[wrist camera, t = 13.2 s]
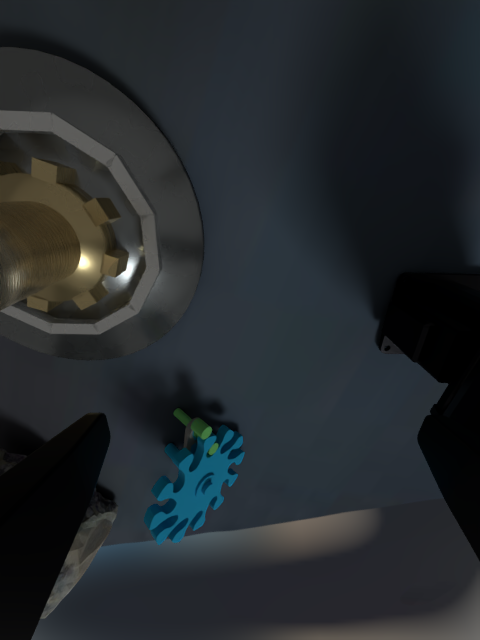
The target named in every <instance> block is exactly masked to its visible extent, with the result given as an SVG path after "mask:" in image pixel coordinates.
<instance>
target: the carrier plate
mask: <svg viewBox="0 0 480 640" xmlns="http://www.w3.org/2000/svg"><path fill="white" fill-rule="evenodd" d="M32 157H34V158H39V159H45V160H50V161H55V162H57V163H60V164H63V165H65V166H68V167H71V168H73V169H76V175H75V185H76V186H78V187H80V188H81V189H82V190H84V191H85V192H86V193H88V194H89V195H90V196H91V197H92V198H93V199H94V198H110V199H111V201H112V203H113V204H114V206H115V207H116V209H117V211H118V212H119V214H120V215H121V218H119V219H117V220H116V221H114V222H112V223H111V225H112V228H113V231H114V234H115V238H116V247H117V249H119V250H122V251H125V252H128V253H129V258H128V263H127V268H126V271H124V272H123V273H121V274H120V275H119V276H117V277H116V278H114V277H111V276H108V277H107V278H106V279H105V280H104V281H103V282H102V284H103V285H104V287H105V288H106V290H107V291H108V292H109V293H108V294H107V295H106V296H105V297H103V298H102V299H101V300H100V301H98V302H97V303H95V304H93V305H91V306H89V307H87V308H85V309H83V310H81V309H80V308H79V307H78V306H77V304H76V303H75V302H74V301H73V300H69V301H64V302H63V303H61V304H59V305H58V306H56V307H55V308H53V309H52V310H50V311H48V312H45V311H41V310H38V309H34V308H31V307H28V306H27V298H25V299H23V300H21V301H19V302H17V303H15V304H13V305H11V306H9V307H7V308H5V309H3V310H1V311H0V334H1V335H3V336H5V337H6V338H8V339H10V340H12V341H15V342H17V343H19V344H21V345H23V346H25V347H28V348H31V349H33V350H36V351H39V352H42V353H46V354H49V355H53V356H57V357H62V358H68V359H77V360H105V359H111V358H117V357H121V356H125V355H128V354H132V353H135V352H137V351H139V350H141V349H144V348H146V347H148V346H149V345H151V344H153V343H154V342H156V341H158V340H159V339H160V338H161V337H163V336H164V335H165V334H166V333H168V332H169V331H170V330H171V329H172V328H173V327H174V325H175V324H176V323H177V322H178V321H179V320H180V318H181V317H182V315H183V314H184V313H185V311H186V310H187V308H188V306H189V304H190V302H191V300H192V298H193V296H194V294H195V291H196V288H197V285H198V282H199V279H200V276H201V271H202V265H203V260H204V230H203V221H202V216H201V211H200V207H199V202H198V199H197V196H196V193H195V190H194V187H193V184H192V182H191V180H190V178H189V176H188V173H187V171H186V169H185V167H184V165H183V163H182V161H181V160H180V158H179V156H178V155H177V153H176V152H175V150H174V148H173V147H172V145H171V143H170V142H169V141H168V140H167V138H166V137H165V136H164V134H163V133H162V132H161V131H160V129H159V128H158V127H157V126H156V124H155V123H154V122H153V121H152V120H151V119H150V118H149V117H148V116H147V115H146V114H145V113H144V112H143V111H142V110H141V109H140V108H139V107H138V106H137V105H136V104H135V103H134V102H133V101H132V100H130V99H129V98H128V97H127V96H125V95H124V94H123V93H122V92H120V91H119V90H118V89H117V88H115V87H114V86H113V85H112V84H110V83H109V82H107V81H106V80H104V79H102V78H101V77H99V76H97V75H96V74H94V73H93V72H91V71H89V70H88V69H86V68H84V67H81V66H79V65H77V64H75V63H73V62H70V61H68V60H66V59H64V58H61V57H58V56H54V55H51V54H48V53H44V52H41V51H37V50H31V49H23V48H16V47H0V161H4V162H10V163H16V165H17V166H18V167H19V169H20V170H21V172H22V173H26V174H31V166H32Z"/></svg>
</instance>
